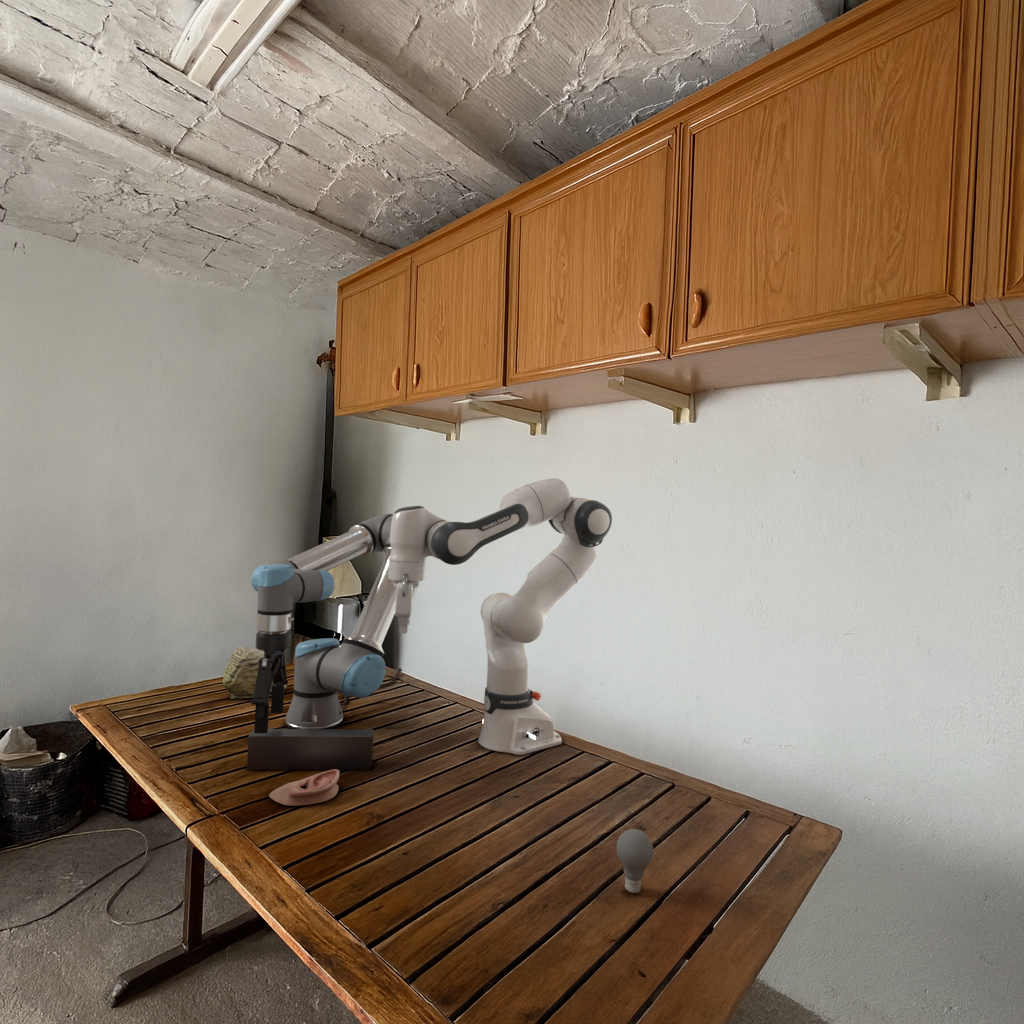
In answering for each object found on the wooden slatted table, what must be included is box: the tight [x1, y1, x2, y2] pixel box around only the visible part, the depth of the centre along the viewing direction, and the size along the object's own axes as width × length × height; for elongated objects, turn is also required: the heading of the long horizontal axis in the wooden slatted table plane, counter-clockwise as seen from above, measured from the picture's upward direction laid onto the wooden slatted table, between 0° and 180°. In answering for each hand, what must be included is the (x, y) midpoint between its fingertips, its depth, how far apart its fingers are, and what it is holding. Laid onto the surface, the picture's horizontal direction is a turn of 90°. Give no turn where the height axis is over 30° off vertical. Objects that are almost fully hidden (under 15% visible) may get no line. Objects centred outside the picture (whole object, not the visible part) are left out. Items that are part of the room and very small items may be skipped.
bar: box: [246, 728, 375, 771], centre depth 149 cm, size 28×5×8 cm, turn 96°
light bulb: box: [615, 828, 654, 894], centre depth 106 cm, size 6×6×10 cm
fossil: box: [222, 646, 288, 699], centre depth 198 cm, size 9×18×15 cm, turn 132°
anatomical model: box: [268, 769, 340, 807], centre depth 134 cm, size 13×4×12 cm
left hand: (269, 722), depth 147 cm, fingers open, 13 cm apart
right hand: (404, 628), depth 154 cm, fingers open, 8 cm apart
